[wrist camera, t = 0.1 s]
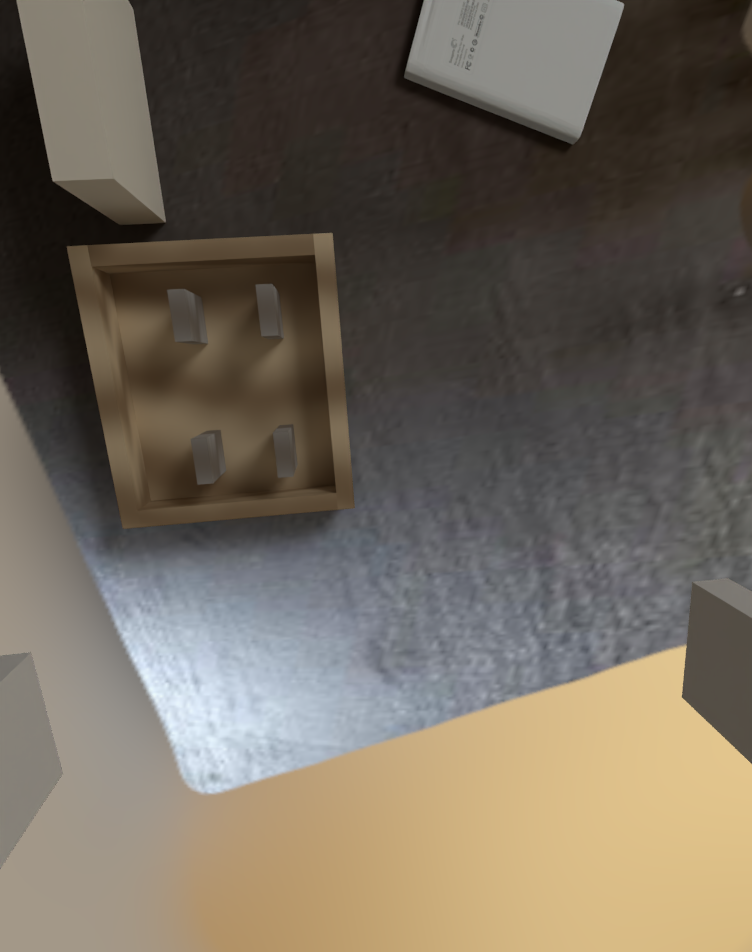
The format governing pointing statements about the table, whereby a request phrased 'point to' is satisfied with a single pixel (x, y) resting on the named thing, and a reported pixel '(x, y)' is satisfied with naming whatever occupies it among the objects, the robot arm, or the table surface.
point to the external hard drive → (517, 57)
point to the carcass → (217, 376)
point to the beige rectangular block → (94, 105)
